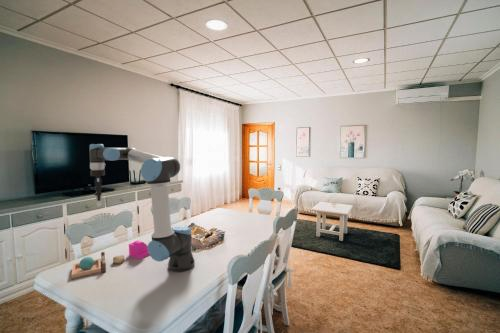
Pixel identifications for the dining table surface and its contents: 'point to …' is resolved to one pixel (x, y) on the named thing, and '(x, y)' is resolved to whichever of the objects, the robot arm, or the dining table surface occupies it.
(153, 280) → the dining table surface
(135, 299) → the dining table surface
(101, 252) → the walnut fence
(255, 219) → the dining table surface
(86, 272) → the terracotta dish
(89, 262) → the ball
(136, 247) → the magenta block
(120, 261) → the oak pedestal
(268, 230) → the dining table surface
